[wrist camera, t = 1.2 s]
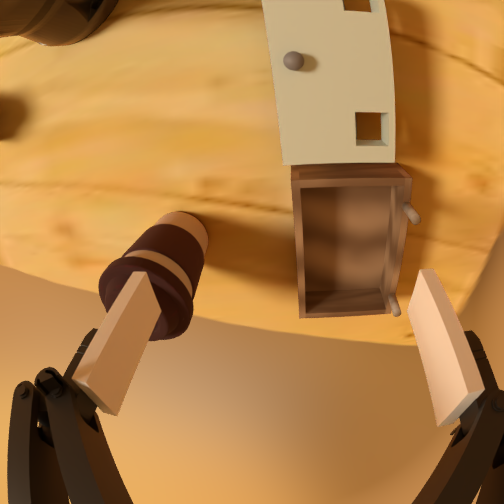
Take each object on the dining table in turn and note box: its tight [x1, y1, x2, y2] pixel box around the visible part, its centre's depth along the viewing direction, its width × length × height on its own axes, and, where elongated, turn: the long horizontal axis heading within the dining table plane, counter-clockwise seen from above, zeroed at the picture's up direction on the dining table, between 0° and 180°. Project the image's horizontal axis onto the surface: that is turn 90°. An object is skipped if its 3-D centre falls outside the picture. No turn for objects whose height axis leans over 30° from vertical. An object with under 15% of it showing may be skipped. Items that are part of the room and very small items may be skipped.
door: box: [261, 0, 395, 166], centre depth 20 cm, size 18×10×4 cm, turn 8°
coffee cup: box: [99, 212, 208, 341], centre depth 32 cm, size 10×10×15 cm
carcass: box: [291, 163, 421, 318], centre depth 32 cm, size 18×12×8 cm
